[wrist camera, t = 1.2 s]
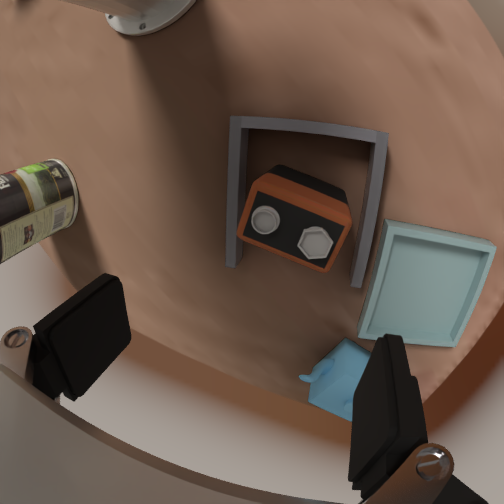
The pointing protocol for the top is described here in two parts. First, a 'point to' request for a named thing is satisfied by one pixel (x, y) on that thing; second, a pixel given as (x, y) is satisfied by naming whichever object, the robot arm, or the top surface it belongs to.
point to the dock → (243, 123)
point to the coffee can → (35, 205)
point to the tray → (424, 284)
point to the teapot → (337, 378)
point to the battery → (296, 217)
